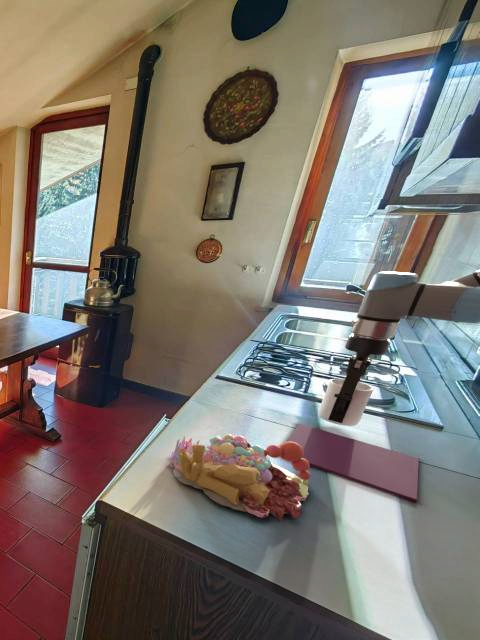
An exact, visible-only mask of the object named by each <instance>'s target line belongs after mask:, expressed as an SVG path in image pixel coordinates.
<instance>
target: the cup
mask: <svg viewBox="0 0 480 640" xmlns="http://www.w3.org/2000/svg"><path fill="white" fill-rule="evenodd" d="M344 381H345V378H332V379H330V380H329V382H328V385H327V387H326V390H325V393H324V395H323V398H322V399H321V403H320V405H319V409H318V412H317V415H318V417H319V418H320V419H322V420H323V421H326V422H329V423H331V424H334V425H338V426H339V425H340V426H344V427H354V426H357V425H358V424H359V423H360V421H361V420H362V417H363V415H364V412H365V410H366V408H367V405H368V404H369V401H370V398H371V396H372V394H373V391H374V387H373V386H371V385H369V384H367V383H364V382H361V381H359V382H358V384H357V386H356V389H355V391H354V393H353V396H352V397H353V398H352V400H351V403H350V405H349V407H348V410H347V412H346V415H345V417H344V419H343V422H342V423H339V422H335V421H331V420H328V419H329V416H330V414H331V411H332V409H333V406H334V404H335V401H336V399H337V397H334V395H335V394H339V393H340V390H341V388H342V385H343V383H344ZM344 394H347V393H344ZM348 395H350V394H348Z"/></svg>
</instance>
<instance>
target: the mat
mask: <svg viewBox="0 0 480 640" xmlns="http://www.w3.org/2000/svg"><path fill="white" fill-rule="evenodd" d="M289 441H291V442H295V443H297V444H299V445H300V446H301V447H302V449H303V451H304V455H303V457H302V458H304V459H306V460H307V461H308V462H309V464H310V467H312V468H316V469H318V470H322V471H325V472H327V473H331V474H333V475H335V476H339V477H341V478H344V479H348V480H351V481H354V482H357V483H360V484H362V485H365V486H368V487H371V488H373V489H377V490H379V491H382V492H385V493H388V494H391V495H394V496H397V497H400V498H403V499H406V500H409V501H411V502H414V503H417V501H418V489H419V487H418V485H419V463H420V458H419V457H416V456H412V455H409V454H405V453H402V452H399V451H395V450H392V449H389V448H386V447H382V446H379V445H376V444H371V443H368V442H365V441H361V440H357V439H355V438H351V437H348V436H344V435H341V434H339V433H338V434H337V433H333V432H330V431H328V430H324V429H320V428H317V427H314V426H310V425H307V424H303V423H298V424H297V426H296V427H295V428H294V430H293V431H292V433H291V434H290V436H289V438H288V439H287V441H286V442H289Z"/></svg>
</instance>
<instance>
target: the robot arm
mask: <svg viewBox="0 0 480 640" xmlns="http://www.w3.org/2000/svg"><path fill="white" fill-rule="evenodd" d="M402 316H406V317H414V318H423V319H431V320H439V321H445V322H446V321H447V322H453V323H456V324H458V323H459V324H460V323H465V324H467V323H468V324H479V323H480V269H479V270H476V271H475V272H471V273H468V274H466V275H463V276H460V277H457V278H455V279H449V280H446V281H444V282H441V283H439V284H434V283H423V282H419V274H417V273H413V272H403V271H402V272H401V271H379V272H377V273H374V274H373V276H372V278H371V280H370V283H369V285H368V286H367V289H366V290H365V293H364V296H363V299H362V302H361V304H360V306H359V310H358V312H357V316H356V318H355V320H354V319H352V320H351V322H350V324H351V325H353V326H352V329H351V330H350V331H351V334H349V335H348V338H347V341H346V343H345V346H344V347H345V349H346V350H347V351H349V352H355V353H356V354H355V355H351V356H350V357H349V359H348V361H347V364H348V366H347V368H346V370H345V374H346V375H345V378H344V379H345V381H344V383H343V385H342V388H341V390H340V393H339V394H335V395H334V397H337V399H336V401H335V404H334V406H333V409H332V411H331V414H330V416H329V419H328V420H331V421H335V422H339V423H342V422H343V419H344V417H345V415H346V412H347V410H348V407H349V405H350V403H351V400H352V398H353V397H352V396H353V393H354V391H355V389H356V386H357V384H358V382H361V378H364V376H365V374H366V372H367V370H368V369H369V368H370V366H371V364H372V362H373V358H370V356H372V355H373V356H384V355H386V353H387V351H388V349H389V347H390V344H391V342H392V341H391V339H392V338H394V336H395V333H396V332H397V329H398V326H399V325H400V321H401V318H402ZM344 393H347V394H344ZM348 394H350V395H348Z"/></svg>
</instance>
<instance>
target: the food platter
mask: <svg viewBox="0 0 480 640" xmlns="http://www.w3.org/2000/svg"><path fill="white" fill-rule="evenodd" d="M180 440H181V439H180V438H179V439H177V440H176V444H175V448H174V450H173V451H172V453H171V456H170V460H169V461H170V466H172V465H173V467H174V469H173V470H172V474H173V476H174V478H176V479H177V480H178V482H181V483H182V484H184V485H187V486H191V487H193V488H195V489H199V490H202V491H203V494H204V495H206V496H208V498H209V499H210V500H212V501H214V502H215V503H217V504H219V505H221V506H225V507H228V508H231V509H233V510H236V511H241V512H244V513H246V512H247V513H249V514H251V515H255V516H256V517H258V518H260V519H261V518H266V517H268V516H269V515H270V514H271V515H272V516H273V517H274V518H276V519H277V520H279V521H280V522H282V520H283V517H284V514H287V515H290V516H291V517H292V518H293V519H297V518H298V517H299V516H300V515H301V514H302V513H303V511H302V510H301V507H302V503H301V501H302V502H305V501H306V499H307V498H308V497H309V495H310V494H309V492H308V491H309V485H308V484H309V482H310V481H309V480H310V478H311V476H312V475H311V473H310V472H309V469H310V467H311V466H310V464H309V462H308V461H307V460H306V459H304V458H302V457H303V455H304V451H303V449H302V447H301V446H300V445H299V444H297V443H295V442H291V441H289V442H287V441H284V442H282V443H281V444H279V445H277V444H269V445H268V446H267V447H266V449H265V448H263V447H261V446H260V445H258V444H250V442H248V440H247V439H246V437H244V436H243V435H233V434H230V433H227V434H224V436H223V437H220V436H219V435H216V436H212V437H211V438H209V444H207V445H206V446H205V445H201V443H200V440H198V441H196V444H195V443H193V444H192V441H193V437H191V438H190V439H188V440H186V436H185V435H184V436H183V438H182V440H181V441H180ZM199 443H200V444H199ZM269 457H270V458H273V459H276V458H277V459H278V458H281V459H282V460H283V461H285V462H290V463H291V464H292V469H294V470H295V471H297V472H298V473H297V475H298V476H297V475H296V474H295V473H292V472H291V471H289V470H287V469H286V468H283V467H281V466H279V465H277V464H274V463H272V461H271V459H270V458H269Z"/></svg>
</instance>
